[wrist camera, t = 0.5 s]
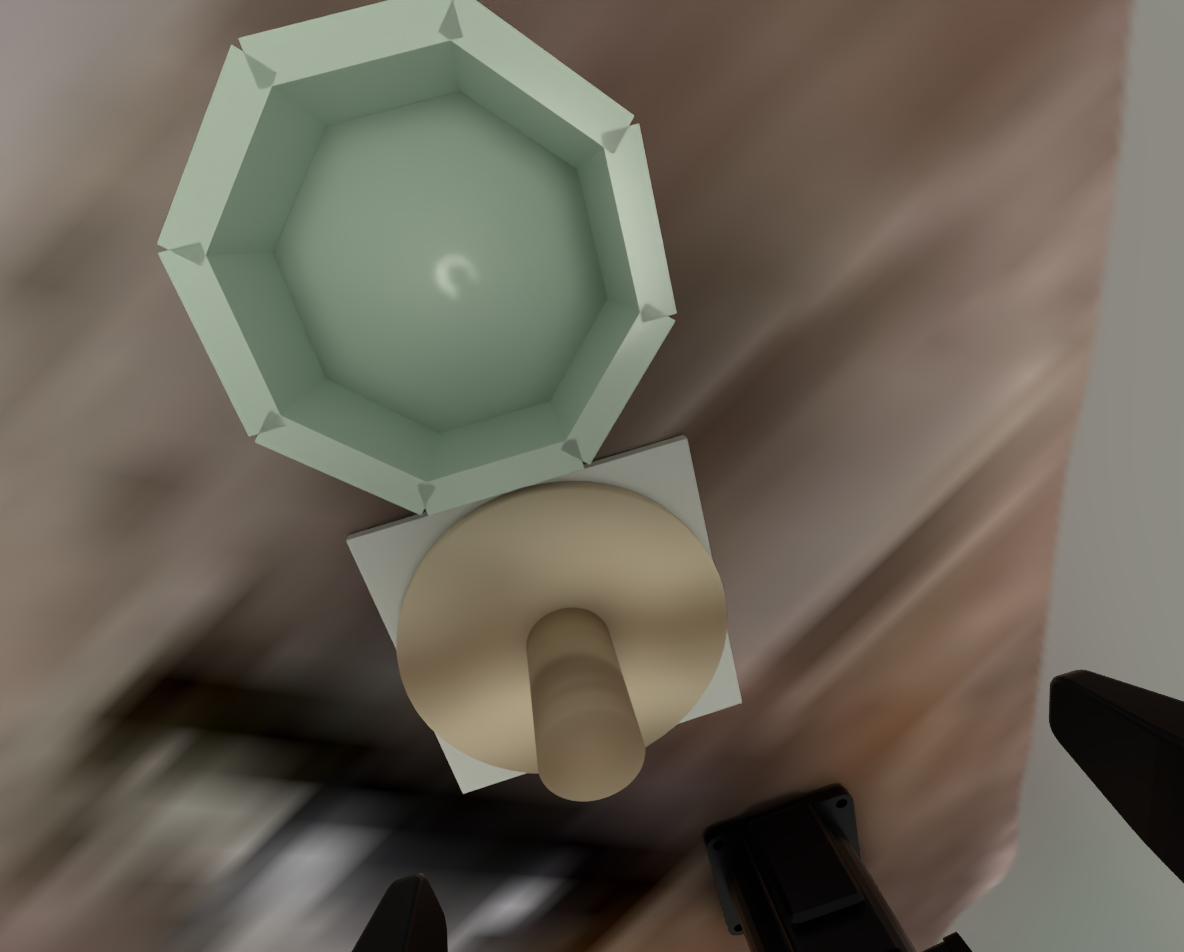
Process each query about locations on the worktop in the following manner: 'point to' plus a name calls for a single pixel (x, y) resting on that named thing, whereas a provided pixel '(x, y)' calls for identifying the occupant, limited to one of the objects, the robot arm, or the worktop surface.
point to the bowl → (419, 252)
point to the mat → (404, 543)
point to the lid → (562, 633)
